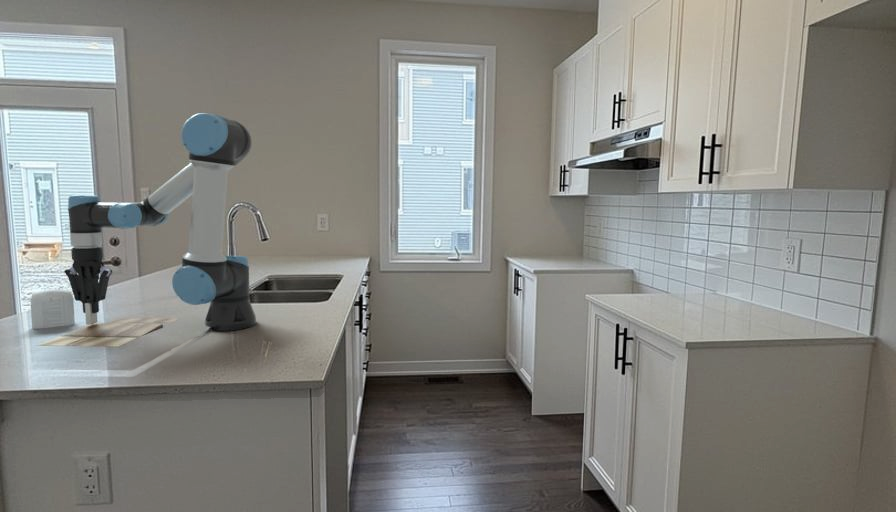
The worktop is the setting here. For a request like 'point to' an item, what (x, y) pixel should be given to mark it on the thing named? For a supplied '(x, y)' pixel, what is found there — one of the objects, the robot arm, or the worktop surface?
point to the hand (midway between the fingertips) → (91, 323)
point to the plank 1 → (115, 329)
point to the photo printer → (52, 309)
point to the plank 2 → (144, 320)
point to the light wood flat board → (89, 341)
